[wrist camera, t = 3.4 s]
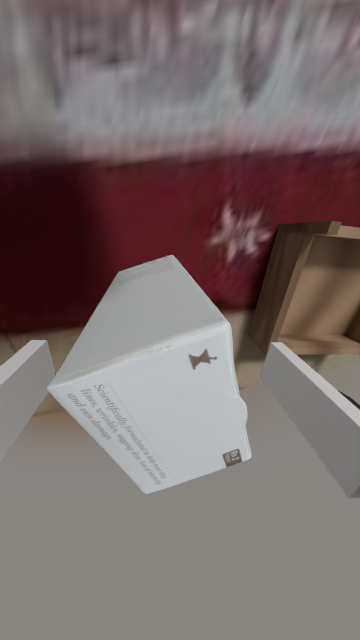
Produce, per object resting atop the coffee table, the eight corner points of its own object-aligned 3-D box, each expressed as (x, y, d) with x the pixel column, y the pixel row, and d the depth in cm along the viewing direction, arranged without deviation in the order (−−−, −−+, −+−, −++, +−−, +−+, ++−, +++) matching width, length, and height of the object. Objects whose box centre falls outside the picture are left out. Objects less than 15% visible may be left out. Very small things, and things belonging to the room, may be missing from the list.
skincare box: (118, 270, 18) (16, 380, 5) (176, 252, 18) (234, 311, 5) (148, 339, 22) (136, 506, 9) (196, 324, 22) (260, 469, 9)
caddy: (248, 335, 23) (276, 366, 18) (279, 223, 18) (331, 221, 13) (341, 336, 25) (391, 365, 20) (394, 236, 20) (482, 238, 15)
